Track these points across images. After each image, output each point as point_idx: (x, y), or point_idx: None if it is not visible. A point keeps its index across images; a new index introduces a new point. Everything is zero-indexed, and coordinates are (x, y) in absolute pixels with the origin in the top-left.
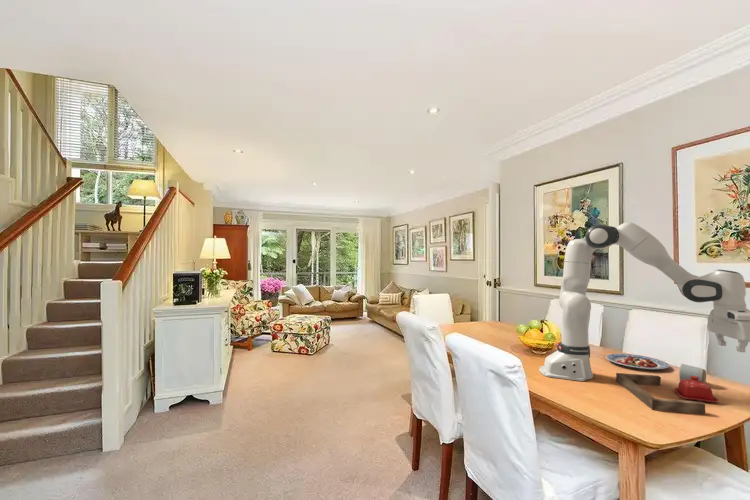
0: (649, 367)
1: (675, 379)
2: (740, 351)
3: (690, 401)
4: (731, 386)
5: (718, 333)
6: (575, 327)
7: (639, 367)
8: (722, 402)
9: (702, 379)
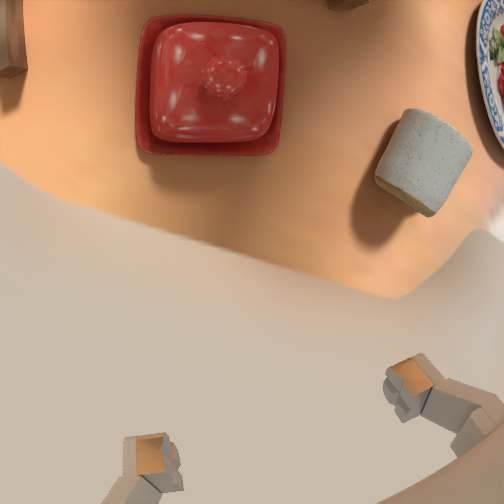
0: (499, 89)
1: None
2: (126, 443)
3: (2, 30)
4: (390, 270)
5: (462, 461)
6: None
7: (477, 33)
8: (184, 172)
9: (380, 179)
